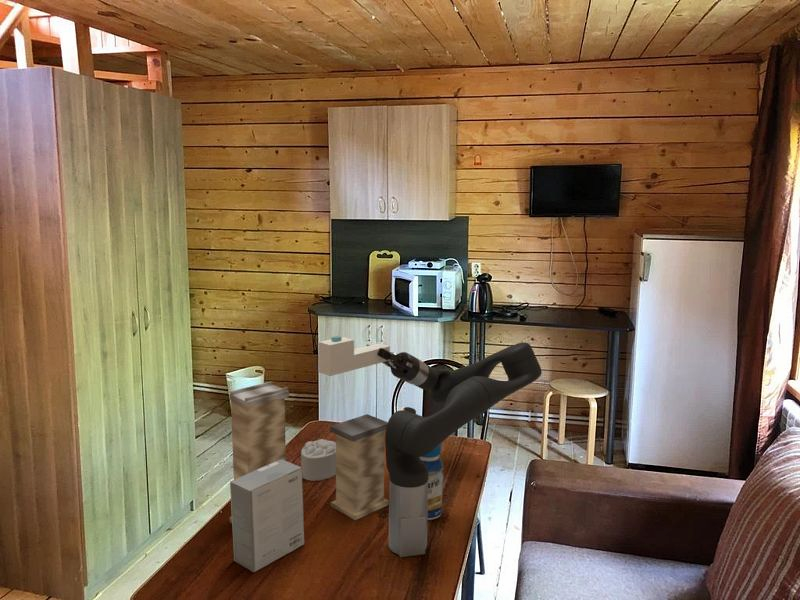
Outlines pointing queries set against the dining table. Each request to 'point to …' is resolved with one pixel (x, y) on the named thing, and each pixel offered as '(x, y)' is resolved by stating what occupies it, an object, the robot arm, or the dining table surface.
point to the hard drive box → (267, 514)
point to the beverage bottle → (434, 482)
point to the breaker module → (346, 355)
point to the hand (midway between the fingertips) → (372, 349)
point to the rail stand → (257, 427)
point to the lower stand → (359, 466)
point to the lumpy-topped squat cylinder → (318, 460)
